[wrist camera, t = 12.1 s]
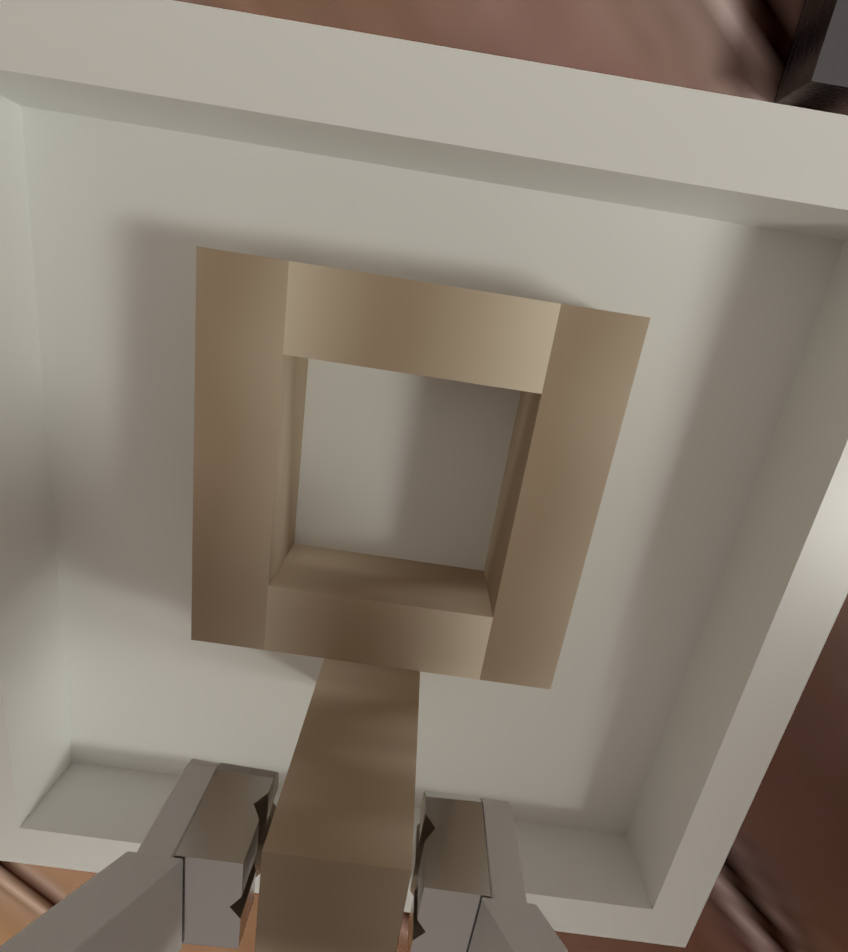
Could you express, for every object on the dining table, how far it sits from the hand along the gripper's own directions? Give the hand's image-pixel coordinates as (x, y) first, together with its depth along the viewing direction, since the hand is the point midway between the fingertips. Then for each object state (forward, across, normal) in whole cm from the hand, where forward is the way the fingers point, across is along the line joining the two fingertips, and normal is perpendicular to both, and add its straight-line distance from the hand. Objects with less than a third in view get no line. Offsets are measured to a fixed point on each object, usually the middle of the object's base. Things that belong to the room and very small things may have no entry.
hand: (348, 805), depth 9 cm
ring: (+4, 0, +4) cm, 6 cm away
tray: (+5, 0, +3) cm, 6 cm away
